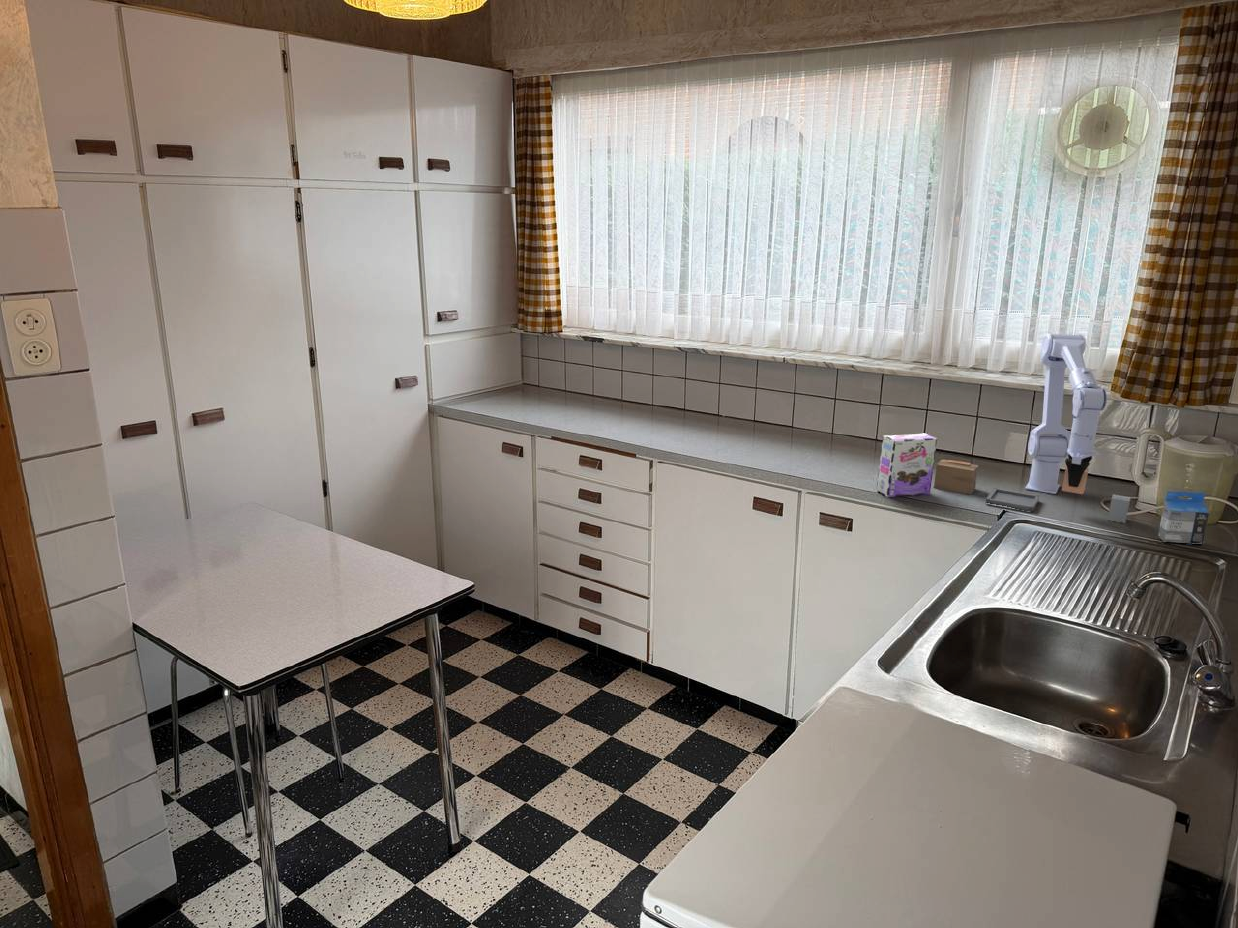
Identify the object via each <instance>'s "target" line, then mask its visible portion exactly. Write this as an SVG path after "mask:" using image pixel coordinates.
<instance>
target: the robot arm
mask: <svg viewBox="0 0 1238 928" xmlns="http://www.w3.org/2000/svg"><path fill="white" fill-rule="evenodd" d="M1040 345H1041V346H1040V358H1039V359H1040V363H1041V364H1042V365H1044V366H1045V375H1044V377H1045V378H1044V388H1043V389H1044V394H1043V407H1042V417H1041V418H1042V422H1041V424H1039V425H1038V426H1036V427H1035V428H1033V429H1032V430H1031V431H1030V434H1029V435H1030V436H1029V440H1028V444H1027V450H1028V451H1027V452H1028V454H1029V455H1030V457H1032V463H1031V469H1030V475H1029V481H1028V483H1027V484H1026V486H1025V487H1024V489H1025V490H1031V491H1035V492H1041V493H1047V494H1053V495H1056V494H1057V493H1058V490H1059V489H1060V486H1061V484H1060V483H1058V480H1059V475H1060V469H1061V463H1062V462H1065V466H1066V467H1067V469H1068V484H1069V486H1072V487H1078V486H1079V483H1080V481H1081V478H1082V475H1083V473H1084V471H1085V470H1086V468H1088V467H1089V466H1090V464H1091V463H1090V462H1091V461H1092V459H1093V457H1097V456H1098V454H1099V452H1097V451H1094V446H1095V441H1096V436H1097V431H1098V426H1099V420H1100V414H1101V412H1102V411H1104V410H1105V408H1106V406H1107V403H1108V393H1107V390H1106V388H1104V387H1102V386H1101V385H1098V383H1097V380H1096V378H1095V376H1094V373H1093V371H1092V370H1091V369H1090V368H1088V367H1086V363H1085V360H1084V354H1085V351H1086V347H1087V341H1086V338H1085V336H1084V335H1083V334H1062V333H1060V334H1059V333H1058V334H1057V333H1051V332H1050V333H1046V334H1045V335H1044V336H1043V339H1042V341H1041V344H1040ZM1067 368H1068V370H1069V375H1068V381H1069V384H1070V387H1071V390H1072V392H1073V396H1072V411H1071V412H1072V415H1073V419H1072V424H1071V429H1070V431H1068V430H1067V429H1066V428H1065V427H1064V426H1063V425H1062V418H1063V417H1062V416H1063V405H1064V389H1065V388H1064V387H1065V375H1066V373H1065V372H1066V369H1067ZM1055 435H1056V436H1055ZM1067 457H1068V458H1067Z"/></svg>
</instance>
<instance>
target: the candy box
mask: <svg viewBox="0 0 1238 928" xmlns="http://www.w3.org/2000/svg"><path fill="white" fill-rule="evenodd" d="M937 442H938V438H937V437H935V436H932V435H930V434H928V433H924V432H923V433H914V434H893V435H891V434H890V435H886V434H885V435H883V436H882V442H881V450H880V458H879V467H878V474H877V475H878V476H877V481H876V488H875V489H876V490H877V492H878V491H879V492H880V494H881V495H883V496H885V497H886V498H894V497H907V496H906V495H912V496H923V495H922V494H925V495H931V488H932V480H933V475H934V474H933V472H934V465H935V459H936V458H935V457H936V450H937ZM879 492H878V493H879Z"/></svg>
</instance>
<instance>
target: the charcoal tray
mask: <svg viewBox="0 0 1238 928" xmlns="http://www.w3.org/2000/svg"><path fill="white" fill-rule="evenodd" d="M1039 501H1040V495H1038V494H1031V493H1025V492H1020V491H1013V490H1007V489H1003V488H996V487H994V488H993V489H992V490H991V492H990V493H989V494H988V496H987V498H986V499H985V504H986V503H990V504H996V505H1002V506H1007V507H1011V508H1015V509H1019V510H1024V511H1030V512H1032V511H1033V512H1034V510H1035V509H1036V507H1035V506H1037V505H1038V503H1039ZM1036 504H1037V505H1036ZM1034 508H1035V509H1034ZM1024 511H1023V512H1024ZM1033 512H1032V513H1033Z"/></svg>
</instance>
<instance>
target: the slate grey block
mask: <svg viewBox="0 0 1238 928" xmlns="http://www.w3.org/2000/svg"><path fill="white" fill-rule="evenodd" d="M1130 501H1131V497H1130V496H1126V495H1125V496H1124V495H1119V494H1112V497H1111V500H1110V506H1109V511H1108V516H1107V521H1109V520H1110V521H1109V522H1114V521H1116V522H1115V523H1120V522H1123V523H1122V524H1126V521H1127V518H1128V517H1127V516H1128V510H1129V506H1130Z"/></svg>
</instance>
